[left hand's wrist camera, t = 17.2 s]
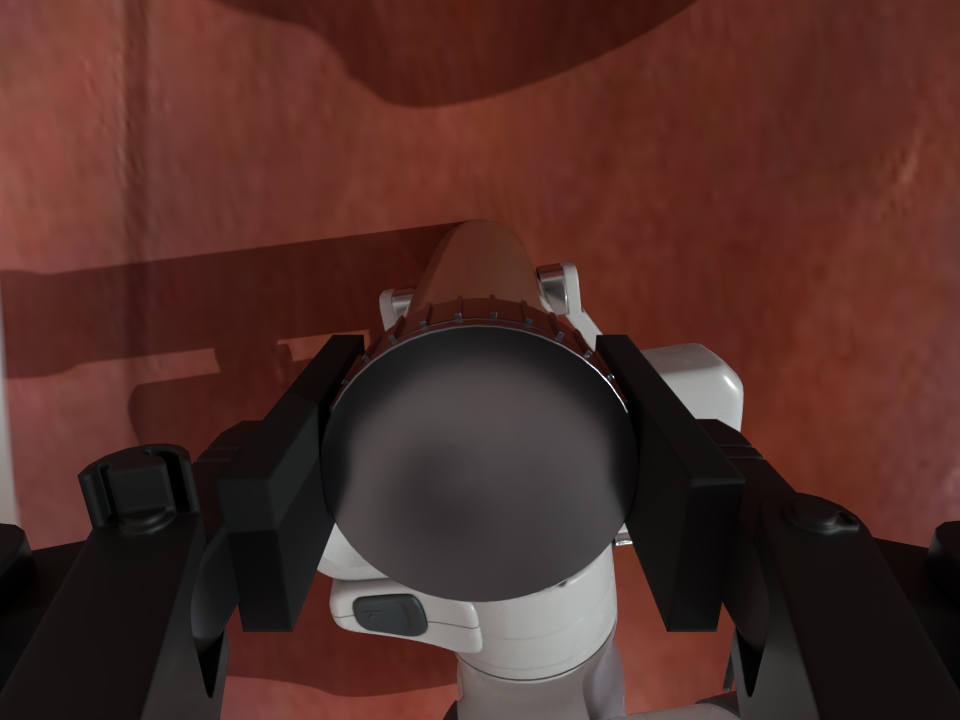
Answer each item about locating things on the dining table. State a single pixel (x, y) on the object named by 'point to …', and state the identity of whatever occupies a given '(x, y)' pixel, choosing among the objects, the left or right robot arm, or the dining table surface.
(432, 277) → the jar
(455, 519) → the lid
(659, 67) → the dining table surface
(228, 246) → the dining table surface
